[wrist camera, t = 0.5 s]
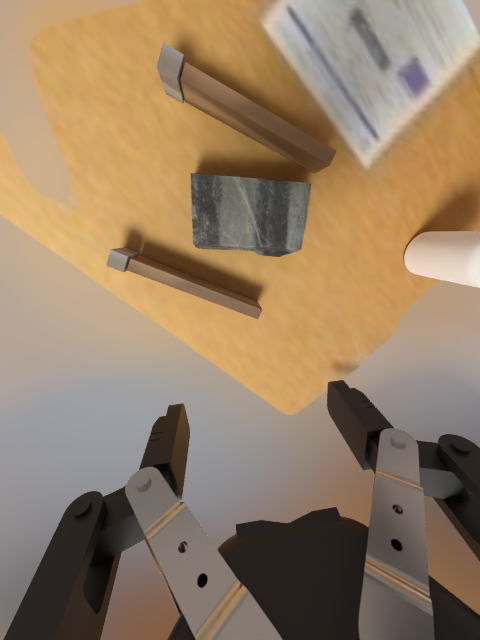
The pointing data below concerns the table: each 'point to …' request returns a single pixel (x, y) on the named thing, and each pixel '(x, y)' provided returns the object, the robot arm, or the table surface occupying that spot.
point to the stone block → (248, 214)
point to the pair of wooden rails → (245, 119)
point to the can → (446, 256)
